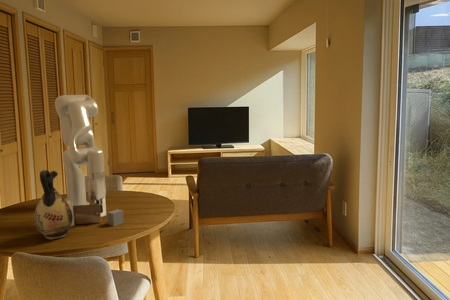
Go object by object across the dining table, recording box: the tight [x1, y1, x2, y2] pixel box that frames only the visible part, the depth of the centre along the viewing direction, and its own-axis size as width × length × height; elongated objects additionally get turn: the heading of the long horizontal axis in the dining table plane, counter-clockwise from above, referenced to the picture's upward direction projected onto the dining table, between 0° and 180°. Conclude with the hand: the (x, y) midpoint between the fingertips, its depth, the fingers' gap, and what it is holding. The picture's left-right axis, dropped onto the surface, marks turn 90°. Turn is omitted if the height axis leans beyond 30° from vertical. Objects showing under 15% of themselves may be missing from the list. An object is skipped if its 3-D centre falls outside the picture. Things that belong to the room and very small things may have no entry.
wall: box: [66, 195, 107, 227], centre depth 208 cm, size 3×24×12 cm, turn 146°
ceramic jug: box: [33, 169, 73, 240], centre depth 186 cm, size 17×15×30 cm
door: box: [73, 203, 102, 225], centre depth 203 cm, size 3×13×9 cm, turn 99°
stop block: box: [106, 208, 125, 227], centre depth 203 cm, size 4×6×6 cm, turn 145°
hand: (99, 212), depth 208 cm, fingers closed
